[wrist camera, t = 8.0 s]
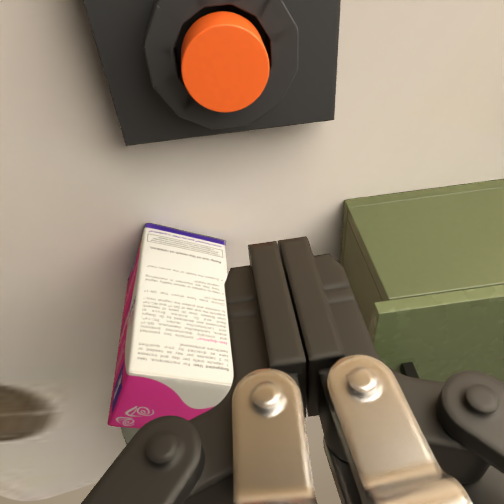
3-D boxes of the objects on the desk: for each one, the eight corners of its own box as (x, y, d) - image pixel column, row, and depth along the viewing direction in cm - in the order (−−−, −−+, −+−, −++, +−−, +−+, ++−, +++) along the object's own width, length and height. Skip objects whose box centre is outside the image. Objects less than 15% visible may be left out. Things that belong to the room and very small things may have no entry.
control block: (129, 126, 25) (122, 164, 22) (74, -70, 19) (55, -51, 16) (324, 101, 26) (343, 137, 23) (332, -98, 20) (358, -85, 17)
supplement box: (142, 219, 30) (128, 372, 22) (227, 238, 32) (244, 385, 24) (123, 279, 33) (105, 430, 25) (201, 293, 35) (208, 437, 27)
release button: (188, 100, 21) (189, 118, 20) (173, 15, 19) (173, 29, 17) (266, 90, 21) (271, 107, 20) (261, 5, 19) (267, 19, 17)
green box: (333, 332, 41) (362, 427, 34) (344, 199, 31) (388, 299, 24) (483, 311, 41) (540, 401, 35) (543, 173, 31) (638, 264, 25)
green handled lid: (352, 429, 34) (374, 507, 30) (373, 301, 24) (411, 394, 20) (540, 401, 35) (586, 475, 31) (639, 264, 25) (726, 348, 21)
